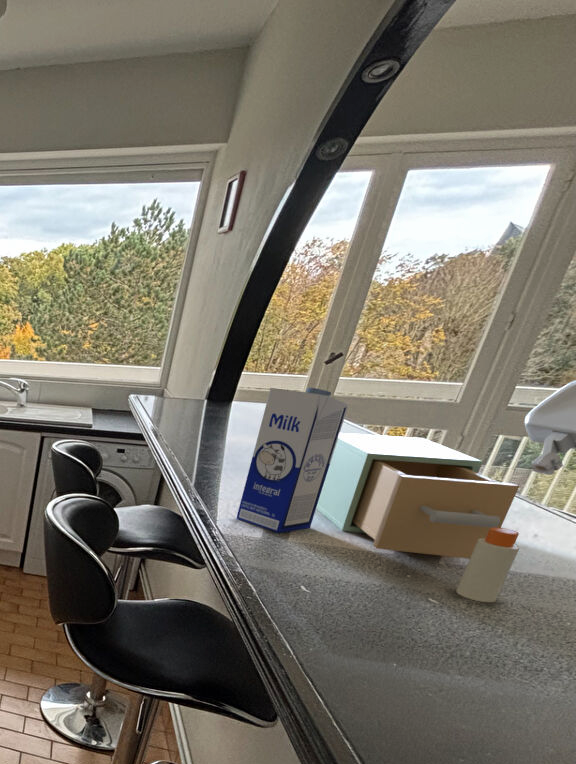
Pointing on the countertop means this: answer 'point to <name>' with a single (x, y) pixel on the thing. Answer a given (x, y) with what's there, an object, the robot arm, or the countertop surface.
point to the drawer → (430, 507)
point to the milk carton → (291, 459)
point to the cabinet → (355, 464)
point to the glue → (489, 565)
